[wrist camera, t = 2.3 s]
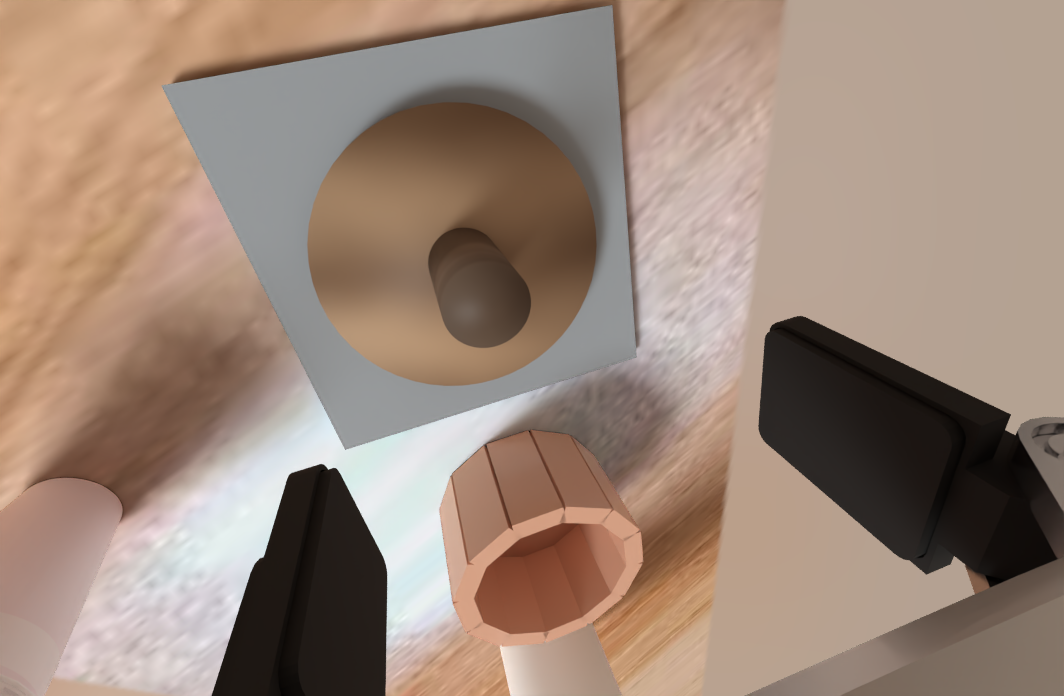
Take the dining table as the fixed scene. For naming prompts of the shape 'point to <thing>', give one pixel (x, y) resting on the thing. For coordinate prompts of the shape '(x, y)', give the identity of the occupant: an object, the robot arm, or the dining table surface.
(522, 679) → the cylindrical container
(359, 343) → the lid
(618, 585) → the bowl
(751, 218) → the dining table surface
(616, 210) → the mat
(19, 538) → the smoothie
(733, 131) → the dining table surface
